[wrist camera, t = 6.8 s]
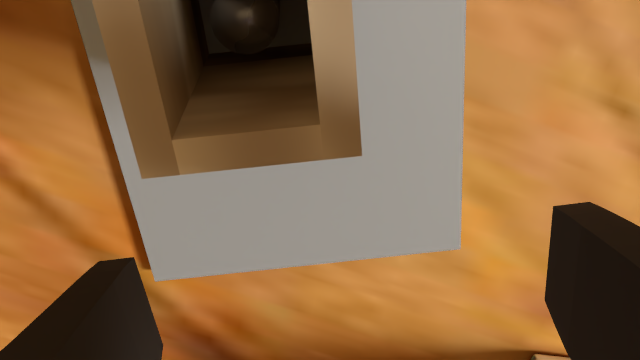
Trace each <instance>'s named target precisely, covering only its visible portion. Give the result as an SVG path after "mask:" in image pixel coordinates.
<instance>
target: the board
mask: <svg viewBox="0 0 640 360" xmlns="http://www.w3.org/2000/svg"><path fill="white" fill-rule="evenodd" d="M214 1H215V0H199V4H200V9H201V15H202V20H203V25H204V30H205V35H206V41H207V46H208V51H209V54H212V53H222V52H231V50H229V49H227V48H226V47H224V46H223V45H222V44H221V43H220V42H219V41H218V39H217V38H216V36H215V35H214V33H213V30H212V27H211V22H210V14H211V9H212V6H213V3H214ZM71 3H72V6H73V10H74V13H75V16H76V20H77V23H78V26H79V30H80V33H81V36H82V40H83V43H84V46H85V50H86V53H87V56H88V60H89V63H90V66H91V70H92V73H93V76H94V80H95V83H96V86H97V90H98V93H99V96H100V100H101V103H102V106H103V110H104V113H105V116H106V120H107V123H108V126H109V130H110V133H111V136H112V140H113V143H114V146H115V150H116V153H117V156H118V160H119V163H120V166H121V170H122V173H123V176H124V180H125V183H126V186H127V190H128V193H129V196H130V200H131V203H132V206H133V210H134V213H135V216H136V220H137V223H138V226H139V230H140V233H141V236H142V240H143V243H144V246H145V250H146V253H147V256H148V260H149V263H150V266H151V270H152V273H153V276H154V279H155V281H164V280H174V279H183V278H193V277H202V276H211V275H221V274H230V273H240V272H249V271H259V270H268V269H277V268H287V267H296V266H306V265H315V264H325V263H334V262H343V261H353V260H362V259H372V258H381V257H391V256H400V255H409V254H419V253H428V252H438V251H447V250H457V249H460V248H461V205H462V161H463V118H464V74H465V30H466V0H352V11H353V26H354V41H355V56H356V71H357V86H358V101H359V115H360V130H361V145H362V156H357V157H347V158H338V159H328V160H319V161H309V162H300V163H290V164H281V165H271V166H262V167H252V168H243V169H233V170H223V171H214V172H204V173H195V174H185V175H176V176H166V177H157V178H147V179H142V178H141V174H140V171H139V167H138V164H137V160H136V156H135V153H134V149H133V146H132V142H131V139H130V135H129V131H128V128H127V124H126V121H125V117H124V113H123V110H122V106H121V103H120V99H119V96H118V92H117V88H116V85H115V81H114V78H113V74H112V71H111V67H110V63H109V60H108V56H107V53H106V49H105V45H104V42H103V38H102V35H101V31H100V28H99V24H98V20H97V17H96V13H95V10H94V6H93V3H92V0H71ZM306 43H311V36H310V26H309V16H308V7H307V0H281V5H280V18H279V28H278V32H277V35H276V37H275V38H274V40H273V41H272V43H271V44H270V45H269V46H268V47H266V48H269V47H278V46H288V45H297V44H306Z"/></svg>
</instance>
